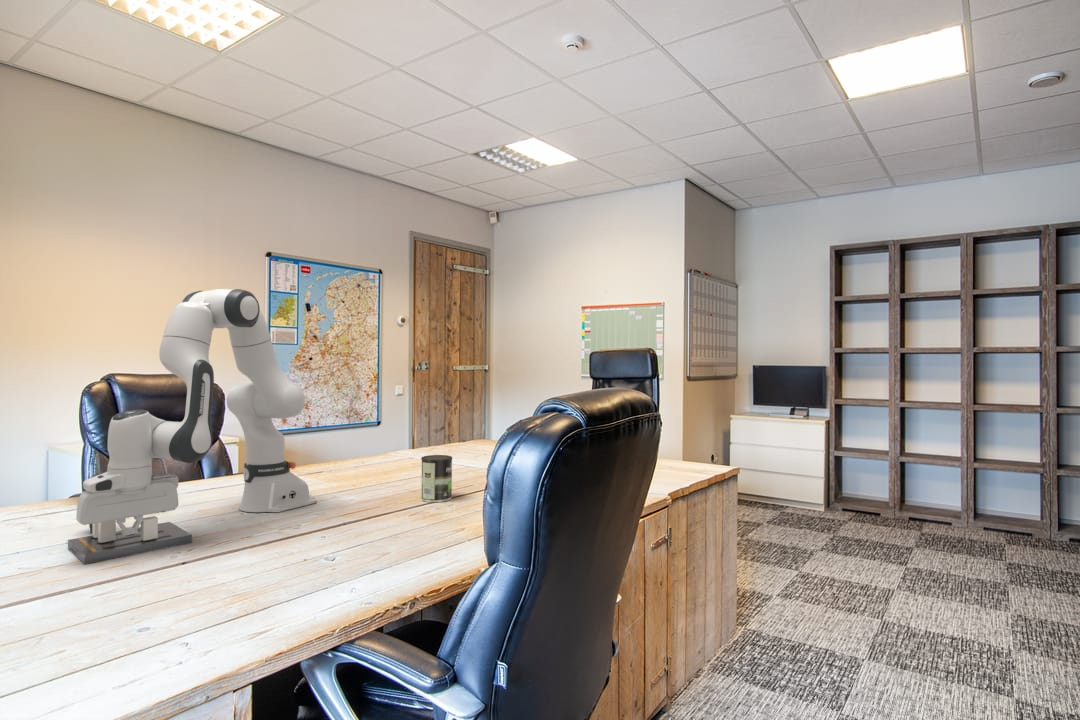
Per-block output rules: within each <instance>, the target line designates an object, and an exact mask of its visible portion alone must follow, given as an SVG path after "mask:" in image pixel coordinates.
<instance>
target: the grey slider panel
mask: <svg viewBox="0 0 1080 720" xmlns="http://www.w3.org/2000/svg"><path fill="white" fill-rule="evenodd" d="M191 543H193V534H192V533H191V532H188V531H187V530H185V529H184V528H181V527H180V526H178V525H176V524H175V523H173V522H171V521H165V522H161V523H158V538H156V539H151V540H145V541H143V540H142V539H141V526H139V527H138V533H137V535H131V536H126V537H123V536H122V529H121V530H116V540H114V541H108V542H103V543H100V542H99V541H98V538H94V537H93V536H92V535H88V536H82V537H77V538H72V539H71V538H70V539H67V549H68V550H69V551H70V552H71V553H73V555H74V556H75V557H76V558H77V559H78V560H79V561H80V562H82V563H83V565H90V564H94V563H99V562H103V561H108V560H112V559H113V560H114V559H117V558H123V557H127V556H132V555H133V556H134V555H138V554H142V553H147V552H152V551H157V550H162V549H166V548H171V547H172V548H173V547H177V546H182V545H187V544H191Z"/></svg>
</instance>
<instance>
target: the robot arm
mask: <svg viewBox="0 0 1080 720" xmlns="http://www.w3.org/2000/svg"><path fill="white" fill-rule="evenodd" d="M260 308H261V307H260V304H259V301H258V299H257V298H256V296H255V295H254V293H252V292H251V291H248V290H245V289H241V288H235V289H232V288H230V289H229V288H216V289H210V290H209V289H208V290H198V291H193V292H191V293H189V294H187V295H186V296H185V297H184V298H183V299H182V301H181V303H178V304H176V305H175V306H174V308H173V310H172V311H171V314H170V316H169V318H168V320H167V323H166V326H165V329H164V331H163V334H162V339H161V342H160V345H159V346H160V347H159V353H158V354H159V361H160V363H161V364H162V366H163V367H164V368H165V369H166V370H167V371H168V372H170V373H171V374H173V375H174V376H176V377H178V378H180V379H181V380H183V382H184V384H185V385H186V401H185V411H184V418H183V420H182V421H172V420H165V419H162V418H158V417H156V416H155V415H153V414H151V413H150V412H149V411H148V410H145V409H131V410H124V411H121V412H118V413H116V414H115V415H113V416H112V417H111V419H110V422H109V425H108V431H107V452H108V454H109V461H108V463H107V469H106V470H107V471H105V472H102V473H103V474H100V475H97V476H95V477H92V476H91V477H92V478H91V477H89V478H87V479H85V480H84V481H83V482H82V487H83V489H85V491H84V490H83V491H82V492H81V493H80V495H79V497H78V500H77V504H76V505H77V506H76V521H77V522H78V523H79V524H81V525H82V526H87V525H89V524H93V523H99V522H105V521H111V520H116V525H118V527H120V529H121V530H122V536H123V537H126V536H131V535H137V533H138V527H140V526H141V522H142V520H143V518H144V516H146V515H151V514H153V515H154V514H158V513H159V512H161V513H166V512H170V511H171V512H172V511H175V510H176V509H177V508H178V506H179V495H178V487H179V477H178V476H177V475H176V474H172V473H171V472H168V473H164V474H163V473H162V474H160V473H159V474H153V461H152V460H153V459H161V460H169V461H178V462H183V463H187V464H193V463H196V462H199V461H201V460H202V459H203V458H205V456H206V455H207V454H208V453H209V452H210V449H211V447H212V444H213V431H212V410H213V398H214V385H215V384H214V383H215V374H214V368H213V366H212V365H211V363H210V360H209V358H210V357H209V355H210V346H211V341H212V337H213V331H214V330H215V329H227V331H228V336H229V340H230V344H231V349H232V352H233V357H234V362H235V364H236V367H237V370H238V371H239V372H240V373H241V374H242V375H244V376H245V377H247V378H248V379H249V381H251V382H245V383H241V384H237V385H234V386H232V387H231V388H230V389H229V391H228V393H227V395H226V405H227V408H228V410H229V411H230V412H231V413H232V415H234V416H235V417H236V419H237V420H238V422H239V424H240V426H241V429H242V433H243V435H244V441H245V463H244V465H243V481H244V487H243V494H242V499H241V503H240V505H239V508H238V509H239V511H241V512H248V513H279V512H280V513H281V512H284V511H288V510H292V509H296V508H297V509H298V508H299V507H300V508H301V507H304V506H309V505H312V504H313V505H314V504H317V501H318V499H317V497H315V496H314V495H310V488H309V485H308V483H307V482H306V481H304V480H303V479H302V478H300V477H299V476H297V475H296V474H294V473H293V472H291V469H295V468H296V467H297V464H296V462H294V461H287V460H285V448H286V447H285V440H286V439H285V437H284V433H282V432H280V430H278V429H277V428H276V426H275V424H274V422H273V419H279V420H280V419H281V420H282V419H288V418H293V417H297V416H298V415H300V414H301V413H302V411H303V409H304V408H305V403H306V398H305V397H306V396H305V394H304V391H303V390H302V389H301V388H300V387H299V386H298V385H296V384H294V383H293V381H291V380H290V378H289V377H287V376H286V374H285V372H284V371H283V370H282V368H281V366H280V364H279V362H278V359H277V356H276V354H275V350H274V345H273V342H272V338H271V333H270V330H269V327H268V325H267V322H266V319H265V317H264V315H263V313H262V311H261V309H260ZM127 518H128V519H129V518H133V519H134V520H135V521H134V522H133V524H132V526H128V527H126V526H125V524H126V519H127Z"/></svg>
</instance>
